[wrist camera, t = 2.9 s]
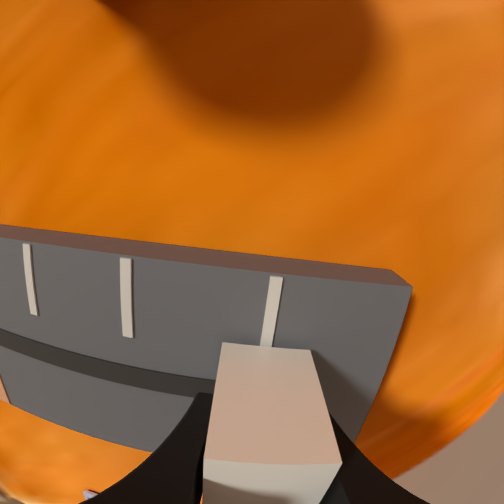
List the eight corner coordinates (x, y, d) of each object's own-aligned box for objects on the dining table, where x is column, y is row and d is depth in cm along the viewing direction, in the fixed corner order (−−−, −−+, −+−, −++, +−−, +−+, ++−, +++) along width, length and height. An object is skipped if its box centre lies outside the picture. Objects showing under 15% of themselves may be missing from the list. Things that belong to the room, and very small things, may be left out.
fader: (284, 442, 12) (294, 540, 7) (214, 437, 12) (202, 536, 7) (309, 349, 10) (342, 463, 6) (222, 341, 10) (203, 458, 5)
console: (335, 439, 15) (342, 467, 13) (-41, 353, 14) (-57, 366, 12) (391, 269, 12) (414, 288, 10) (-67, 216, 11) (-89, 222, 9)
